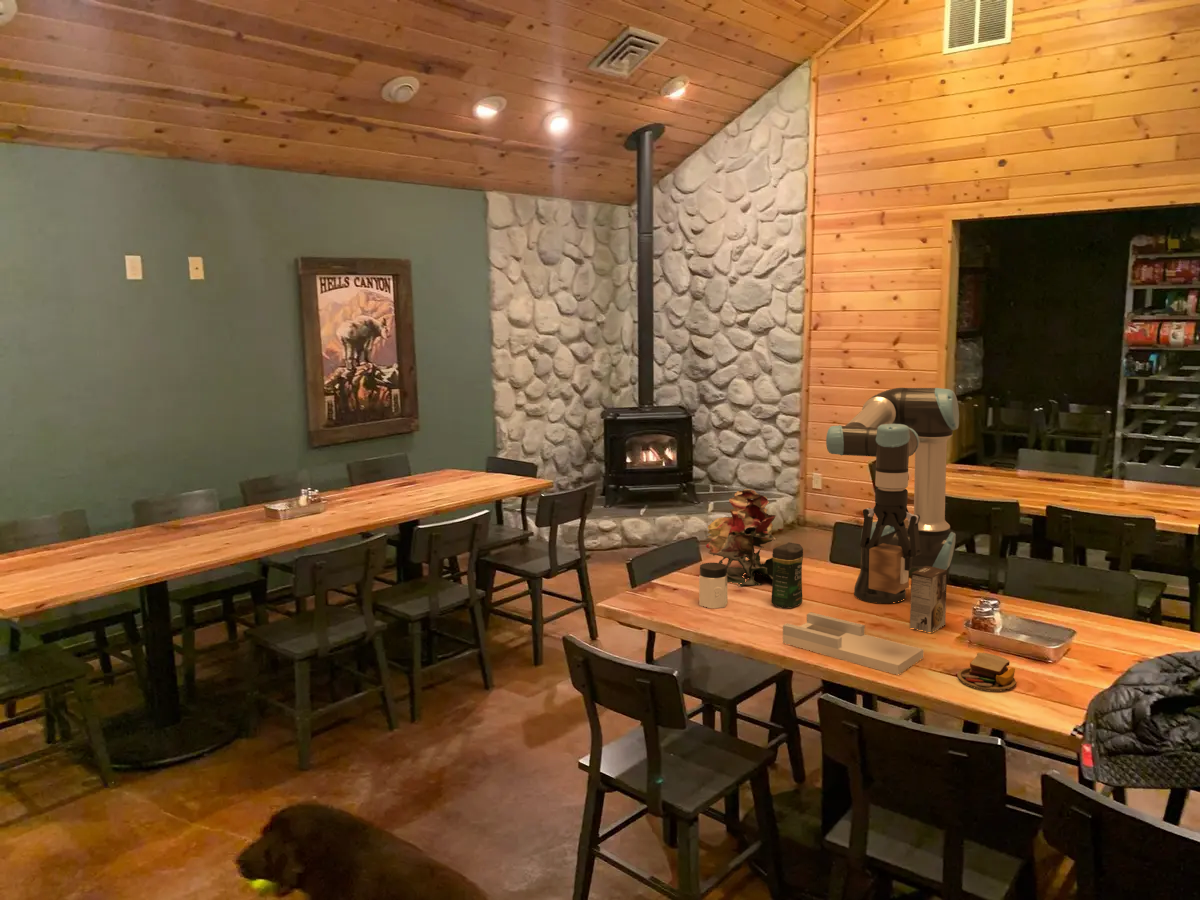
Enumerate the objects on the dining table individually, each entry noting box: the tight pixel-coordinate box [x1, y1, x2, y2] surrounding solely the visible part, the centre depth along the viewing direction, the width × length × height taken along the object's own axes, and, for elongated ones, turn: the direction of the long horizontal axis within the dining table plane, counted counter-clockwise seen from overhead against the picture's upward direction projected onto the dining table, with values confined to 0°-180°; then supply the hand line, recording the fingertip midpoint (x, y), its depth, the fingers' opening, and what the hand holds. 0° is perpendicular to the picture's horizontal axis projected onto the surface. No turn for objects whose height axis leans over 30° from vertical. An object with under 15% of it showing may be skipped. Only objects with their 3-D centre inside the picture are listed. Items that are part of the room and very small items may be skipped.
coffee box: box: [909, 566, 948, 633], centre depth 238 cm, size 9×6×16 cm
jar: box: [698, 562, 728, 609], centre depth 261 cm, size 9×8×12 cm
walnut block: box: [869, 543, 910, 594], centre depth 212 cm, size 7×7×10 cm
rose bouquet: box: [705, 488, 784, 587], centre depth 288 cm, size 26×29×30 cm
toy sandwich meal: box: [956, 652, 1017, 692], centre depth 203 cm, size 12×14×5 cm
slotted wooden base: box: [782, 612, 925, 676], centre depth 223 cm, size 32×14×5 cm, turn 46°
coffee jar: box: [770, 542, 804, 609], centre depth 260 cm, size 10×8×19 cm
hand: (889, 579), depth 213 cm, fingers closed on walnut block, 7 cm apart
